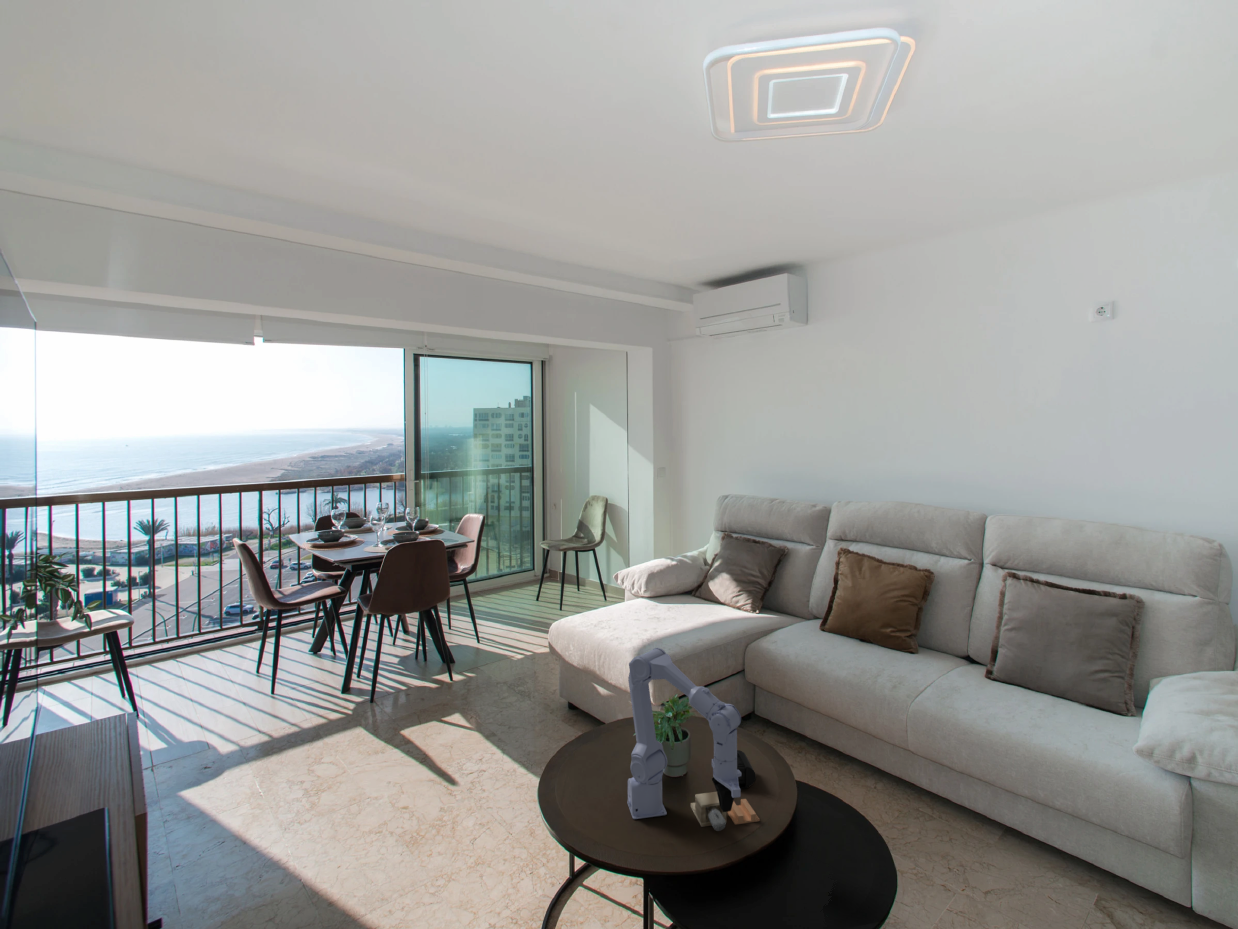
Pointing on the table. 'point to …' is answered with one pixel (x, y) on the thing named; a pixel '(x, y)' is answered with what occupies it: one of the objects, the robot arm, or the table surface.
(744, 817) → the cradle
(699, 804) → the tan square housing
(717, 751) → the robot arm
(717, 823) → the axle
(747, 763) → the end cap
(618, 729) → the table surface
